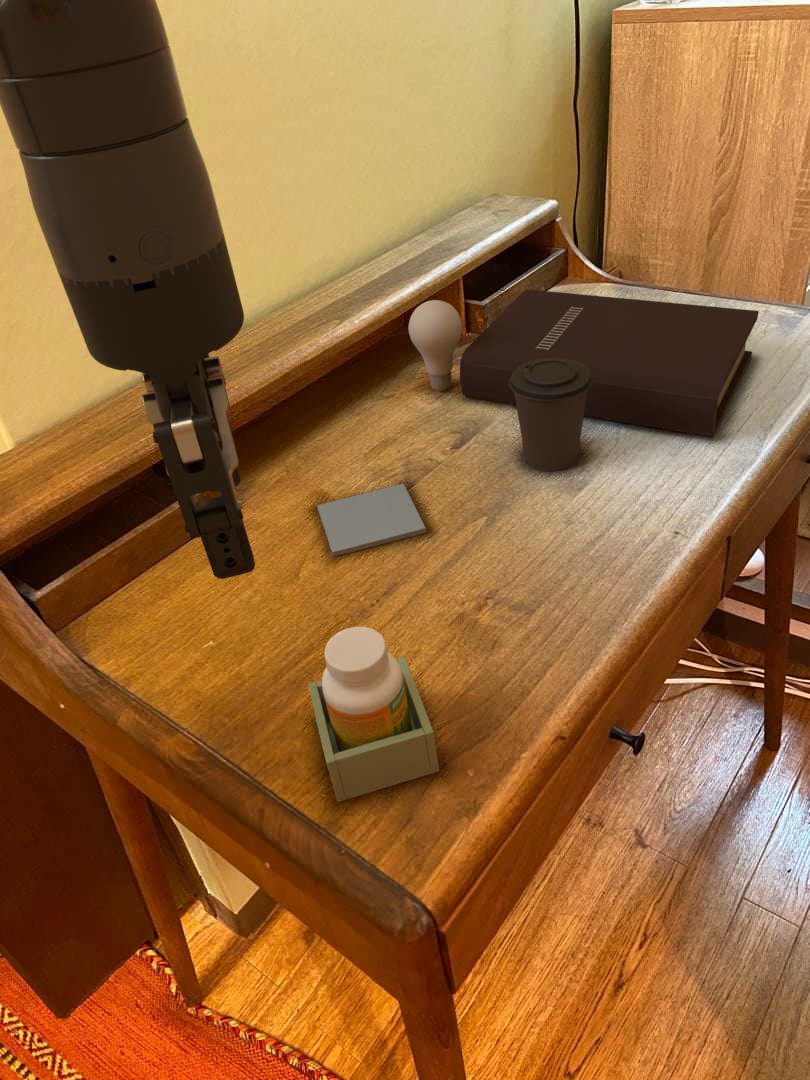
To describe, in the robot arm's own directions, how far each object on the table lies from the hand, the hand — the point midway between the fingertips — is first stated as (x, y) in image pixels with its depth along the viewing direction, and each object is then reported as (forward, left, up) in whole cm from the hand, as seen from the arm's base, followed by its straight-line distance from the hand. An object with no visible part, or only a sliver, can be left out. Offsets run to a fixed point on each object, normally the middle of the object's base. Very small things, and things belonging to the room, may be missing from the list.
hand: (229, 526), depth 47 cm
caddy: (+5, -2, -20) cm, 21 cm away
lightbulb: (+25, +46, -20) cm, 56 cm away
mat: (+11, +24, -20) cm, 33 cm away
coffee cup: (+31, +27, -20) cm, 46 cm away
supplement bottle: (+5, -2, -20) cm, 21 cm away
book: (+43, +39, -20) cm, 62 cm away
